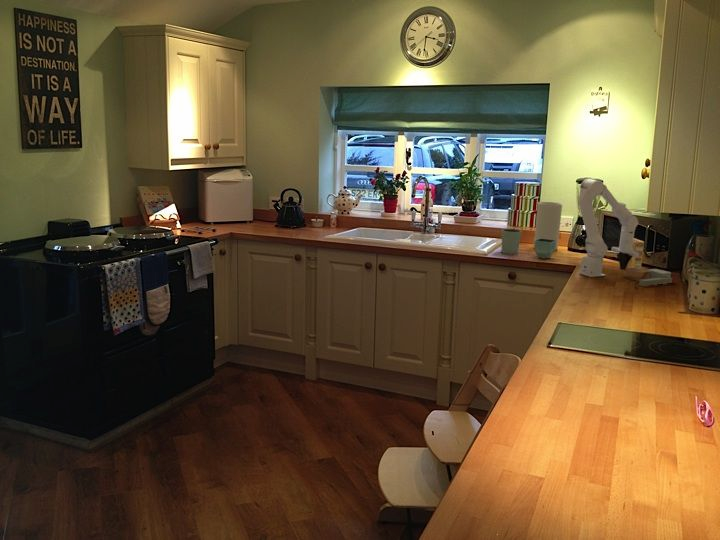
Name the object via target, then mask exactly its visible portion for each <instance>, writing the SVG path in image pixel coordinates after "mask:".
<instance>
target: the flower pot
mask: <svg viewBox="0 0 720 540" xmlns="http://www.w3.org/2000/svg"><path fill="white" fill-rule="evenodd" d="M555 245H556V240H549V239H541V238H539V239H537V240H535V248H534V251H535V255H536V257H537V258H539V257H541V258H540V259H546V258H548V259H549V257H550V258H551V257H552V255H553V254H554V252H555V251H554V249H555Z"/></svg>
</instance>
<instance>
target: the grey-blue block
mask: <svg viewBox="0 0 720 540" xmlns="http://www.w3.org/2000/svg"><path fill="white" fill-rule="evenodd" d="M646 270H647V271H650V277H649V279H652V278H662V277H670V278H672V272H671V271H667V270H663V269H658V268H650V269H646Z"/></svg>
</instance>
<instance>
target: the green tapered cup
mask: <svg viewBox="0 0 720 540" xmlns="http://www.w3.org/2000/svg"><path fill="white" fill-rule="evenodd" d="M521 238H522V230H521V229H518V228H502V229H501V253H502V254H505V253H506V254H505V255H518V254H517V253H519V249H520V241H521Z"/></svg>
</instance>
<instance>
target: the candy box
mask: <svg viewBox="0 0 720 540" xmlns="http://www.w3.org/2000/svg"><path fill="white" fill-rule="evenodd" d="M644 246H645V241H643V240H640V239H638V238H634V239H633V246H632V250H633V251H635V252H638V253H639V257H634V256H632V258H631V259H630V261H629V262H628V264H627V267H626V269H625V270H624V271H626V270H627V269H628V268H639V269H642V263H643V258H644V257H643V255H644Z"/></svg>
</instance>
